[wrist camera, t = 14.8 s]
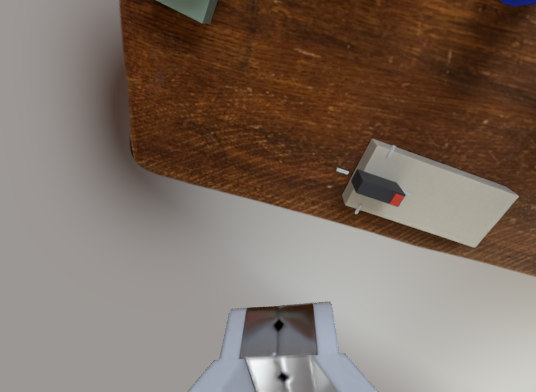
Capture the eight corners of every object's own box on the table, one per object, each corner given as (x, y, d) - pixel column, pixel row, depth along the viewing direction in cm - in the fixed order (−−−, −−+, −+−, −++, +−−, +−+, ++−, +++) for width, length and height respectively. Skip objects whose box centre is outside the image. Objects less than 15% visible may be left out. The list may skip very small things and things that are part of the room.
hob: (318, 192, 39) (320, 202, 37) (351, 124, 35) (355, 131, 32) (462, 239, 41) (472, 252, 39) (509, 182, 37) (524, 192, 35)
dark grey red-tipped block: (350, 180, 35) (356, 194, 32) (357, 168, 34) (363, 181, 32) (389, 194, 36) (398, 208, 33) (397, 182, 35) (406, 196, 32)
